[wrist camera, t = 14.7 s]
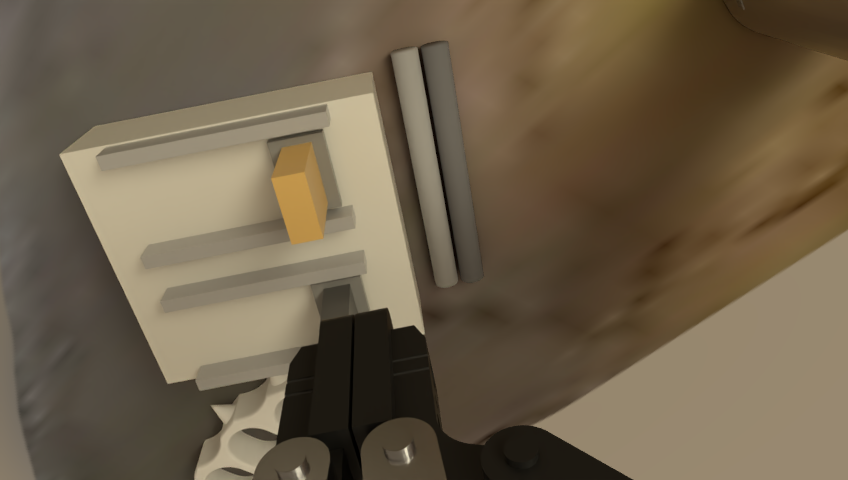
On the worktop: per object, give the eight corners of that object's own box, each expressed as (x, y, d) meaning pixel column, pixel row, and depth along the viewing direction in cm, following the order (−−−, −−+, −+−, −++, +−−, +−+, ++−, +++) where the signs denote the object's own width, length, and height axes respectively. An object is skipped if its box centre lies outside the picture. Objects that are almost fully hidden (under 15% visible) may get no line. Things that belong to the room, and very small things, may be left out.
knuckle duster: (292, 521, 56) (161, 430, 50) (454, 415, 52) (332, 302, 46) (288, 555, 53) (148, 463, 47) (459, 446, 49) (330, 329, 43)
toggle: (360, 270, 38) (359, 317, 34) (375, 329, 40) (376, 381, 36) (311, 280, 38) (304, 328, 34) (328, 338, 40) (324, 391, 36)
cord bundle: (446, 39, 38) (449, 44, 36) (481, 268, 45) (485, 280, 44) (390, 50, 38) (390, 56, 36) (434, 277, 45) (436, 289, 44)
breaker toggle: (323, 128, 34) (317, 161, 30) (342, 202, 36) (339, 243, 32) (268, 139, 34) (253, 173, 30) (290, 212, 36) (280, 254, 32)
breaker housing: (371, 71, 38) (373, 100, 32) (418, 292, 45) (427, 348, 40) (94, 126, 38) (46, 164, 32) (186, 338, 46) (161, 399, 40)
